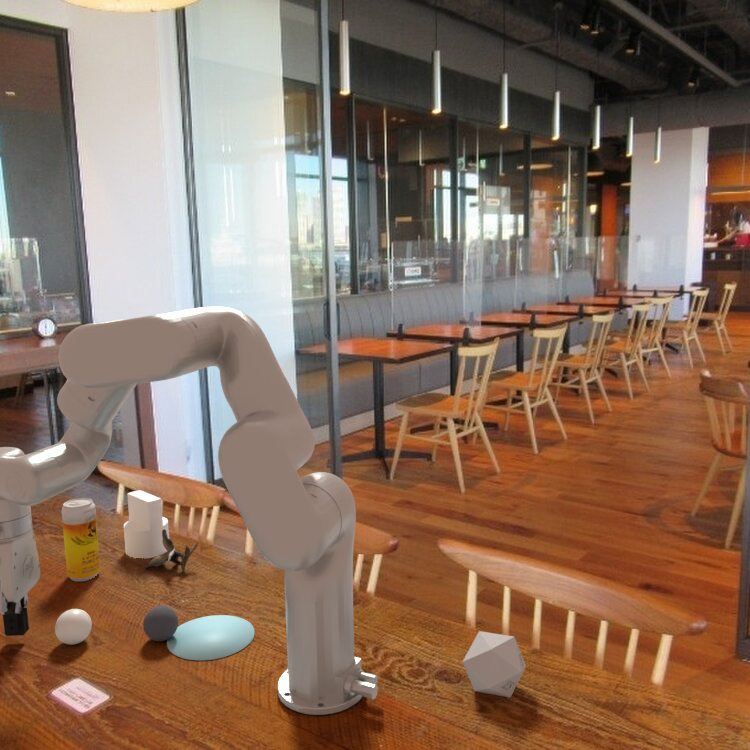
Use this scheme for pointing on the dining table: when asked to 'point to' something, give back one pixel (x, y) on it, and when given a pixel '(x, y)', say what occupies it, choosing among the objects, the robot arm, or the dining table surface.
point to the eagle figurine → (171, 554)
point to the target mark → (211, 637)
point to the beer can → (80, 539)
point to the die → (494, 664)
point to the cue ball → (73, 626)
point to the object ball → (160, 623)
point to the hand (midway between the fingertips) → (17, 632)
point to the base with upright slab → (144, 526)
